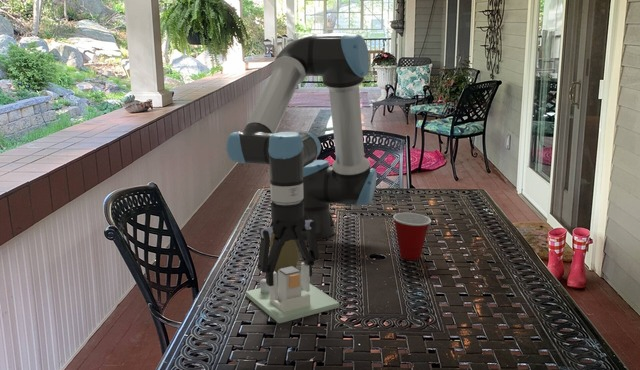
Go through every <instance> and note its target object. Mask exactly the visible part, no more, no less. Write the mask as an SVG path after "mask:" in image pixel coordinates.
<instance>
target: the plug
mask: <svg viewBox="0 0 640 370" xmlns="http://www.w3.org/2000/svg"><path fill="white" fill-rule="evenodd" d="M277 282H278V297H279V302H280V303H282V301H283V300H287V299H291V298H295V297H299V296H301V270H299V269H298V268H297V267H296V268H295V267H293V266H291V267H286V268H281V269H279V270H278V273H277Z"/></svg>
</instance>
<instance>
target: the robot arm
mask: <svg viewBox="0 0 640 370" xmlns="http://www.w3.org/2000/svg"><path fill="white" fill-rule="evenodd" d="M271 70H272V72H271V75H270V77H269V79H268V81H267V84H266V85H265V87H264V89H263V92H262V93H261V95H260V97H259V100H258V101H257V103H256V104H255V107H254V109H253V111H252V113H251V115H250V117H249V119H248V121H247V123H246V125H245V127H244V128H243V131H240V130H239V131H233V132H231V133H230V134H229V135H228V137H227V140H226V147H225V148H226V153H227V156H228V158H229V160H230V161H232V162H235V163H242V164H253V165H255V164H259V165H269V177H270V178H269V179H270V180H269V184H270V185H269V186H270V187H269V189H270V200H271V203H270V208H271V209H270V213H271V214H270V215H271V223H270V226H269V227H266V228H262V227H261V228H260V229H258V232H259V236H260V242H259V252H258V260H257V261H258V262H257V269H258V270H259V272H262V273H265V279H266V283H267V285H268V286H270V296H271V297H272V298H273V299H274V300H277V299H278V273H276V272H275V271H274V270H275V267H276V264H277V261H278V258H279V255H280V252H281V249H282V247H283V246H284V244H285V242H286V241H289V240H295V242H296V244H297V247H298V252H299V253H300V255H301V257H302V260H303V262H301V263H300V272H301V288H302V289H304V290H305V291H306V292H309V291H310V284H311V283H310V278H311V277H312V276H313V266H314V265H315V263H316V261H318V262H319V260H320V254H319V248H318V247H319V246H318V241H317V240H320V239H321V240H322V239H326V238H329V237H331V236H333V235H334V234H335V232H336V229H335V228H336V226H335V222H334V220H333V216H332V214H331V210H330V204H340V205H355V206H356V207H357V206H368V205H370V203H371V202H372V200H373V197H374V195H375V191H376V185H377V177H378V173H377V169H376V168H373V167H371V164H370V163H371V162H370V160H369V159H368V158H366V157H365V149H364V147H365V146H364V135H363V125H362V123H363V122H362V110H361V97H360V96H361V95H360V85H362V84H363V83H364V81H365V79H364V78H365V77H367V75H368V74H369V71H370V54H369V48H368V45H367V42H366V41H365V38H364V37H362V36H361V34H358V33H348V32H343V33H341V32H340V33H307V34H303V35H301V36H298V37H297V38H295V39H293V40H291V41H290V42H288V44H287V45H285V47H283V48H282V50H280V51H279V53H278V54H277V55H276V57H275V59H274V61H273V63H272V66H271ZM312 76H313V77H321V78H322V84H323V86H324V87H325V88H327V89H328V91H329V101H330V111H331V120H332V130H333V131H332V132H333V139H334V140H333V141H334V151H335V152H334V153H335V160H334V161H333V162H332V165H330V162H329V160H327V159H326V160H324V159H317V158H318V157H319V156H320V153H321V151H322V150H321V149H322V145H321V141H320V139H319V138H318V137H317V135H316V134H315V133H311V132H309V131H304V132H296V131H280V132H279V131H278V129H279V127H280V124H281V121H282V120H283V117H284V116H285V113H286V111H287V108H288V107H289V105H290V103H291V100H292V99H293V96H294V94H295V91H296V89H297V87H298V85H301V84H302V83H303V82H304V80H305V78H306V77H312ZM277 131H278V132H277ZM272 232H273V233H274V234H275V235H274V238H273V245H272V248H271V251H270V240H271V233H272ZM279 239H280V240H279ZM305 240H307V244H306V242H305ZM307 245H308V247H307ZM269 253H270V254H269Z"/></svg>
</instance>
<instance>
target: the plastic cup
mask: <svg viewBox="0 0 640 370" xmlns="http://www.w3.org/2000/svg"><path fill="white" fill-rule="evenodd" d="M392 217H393V221H394V225H395V226H394V227H395V231H396V237H397V245H398V251H399V255H400V258H401V259H402V260H406V261H407V260H408V261H415V260H419V259H420V258H421V256H422V252H423V247H424V244H425V239H426V235H427V230H428V228H429V225H430V224H431V222H432V220H431V218H430V217H429V216H426V215H424V214H420V213H415V212H398V213H395V214H393V216H392Z"/></svg>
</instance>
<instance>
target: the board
mask: <svg viewBox="0 0 640 370" xmlns="http://www.w3.org/2000/svg"><path fill="white" fill-rule="evenodd" d="M259 285H260V287H259V288H255V289H250V290H246V291H245V297H247V298H248V300H250V301H252V302H253V303H254V304H255V305H256V306H257V307H258V308H259V309H261V310H262V311H263V312H265V314H266V315H268V316H269V317H270V318H272V319H273V320H274V321H276V323H278V324H283V323H286V322H289V321H293V320H297V319H301V318H305V317H308V316H311V315H315V314H320V313H323V312H327V311H331V310H335V309H339V308H340V302H338V301H337V300H336V299H334V298H333V297H331V296H330V295H328V294H327V293H326V292H324V291H322V290H320V289H319V288H318V287H316V286H314V284H311V283H310V291H309V292H306V291H305V290H304V289H302V288H301V296H299V297H295V298H291V299H287V300H283V301H282V303H280V302H279V297H278V299H277V300H274V299H273V298H272V297H271V296H270V286H268V285H267V283H266V278H261V279H260V284H259Z"/></svg>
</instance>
